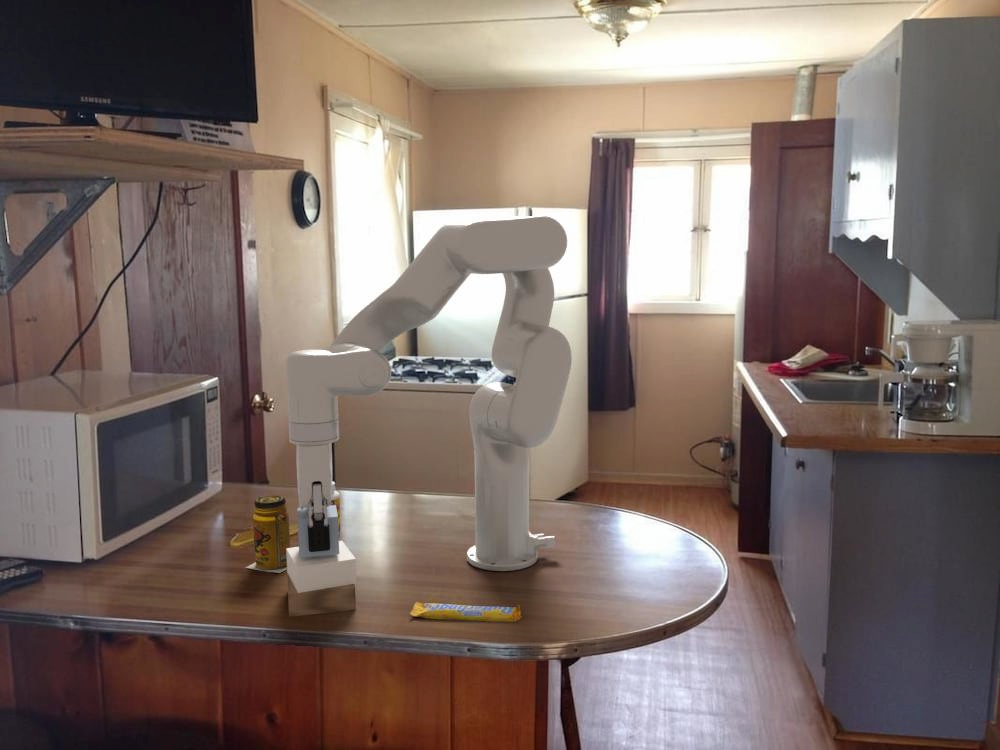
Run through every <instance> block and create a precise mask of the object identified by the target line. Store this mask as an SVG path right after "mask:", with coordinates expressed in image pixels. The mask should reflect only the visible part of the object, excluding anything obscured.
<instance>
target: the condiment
mask: <svg viewBox="0 0 1000 750" xmlns="http://www.w3.org/2000/svg"><path fill="white" fill-rule="evenodd" d="M286 501H287V500H286V498H285V497H284V496H283V495H277V494H275V495H274V494H270V495H263V496H260V497H258V498H255V501H254V514H253V517H252V525H253V541H254V542H253V543H254V544H253V545H254V559H255V561H254V562H253V563H252V564H249V565H248V566H245V567H244V569H250V570H256V571H260V572H266V573H277V574H280V573H282V572H284V571H287V555H286V548H291V538H290V537H291V536H290V518H289V517H290V516H289V513H288V510H287V505H286V503H287V502H286Z"/></svg>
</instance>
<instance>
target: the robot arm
mask: <svg viewBox="0 0 1000 750" xmlns="http://www.w3.org/2000/svg"><path fill="white" fill-rule="evenodd" d="M567 247H568V235H567V233H566V230H565V228H564V226H562V224H561V223H560V222H559V221H557V220H556V219H554V218H553V217H550V216H547V215H531V216H529V215H528V216H511V217H505V218H502V219H501V218H500V219H499V218H498V219H464V220H463V219H461V220H453V221H450V222H447V223H446V224H443V226H441V227H440V228H439V229H438V230H437V231H436V232H435V233H434V235H433V236H432V237H431V238H430V240H429V241H428V242H427V243H426V244H425V246H424V247H423V248H422V249H421V251H420V252H419V253H418V254H417V255H416V257H415V258H414V259H412V262H411V263H410V264H409V265H408V266H407V268H406V269H405V270H404V271H403V272H402V274H401V275H400V276H399V277H398V278H397V279H396V280H395V282H394V283H393V284H392V285H390V287H388V288H387V289H386V290H384V291H383V292H382V293H380V294H379V295H378V296H377V297H376V298H375V299H374V300H372V301H371V302H370V303H369V304H367V305H366V306H365V307H364V308H363V309H361V310H360V311H359V312H358V313H357V314H356V315H355V316H354V317H353V318H351V320H350V321H349V322H348V323H347V324H346V326H344V328H343V329H342V330H341V332H339V334H338V335H337V336H336V338H334V340H333V341H332V343H331V344H330V345H329V347H328V348H327V350H325V349H302V350H296V351H293V352H291V353H289V354H288V355H287V356H286V357H287V358H285V376H286V394H287V395H286V396H287V399H286V400H287V417H288V435H289V436H288V437H289V438H288V440H289V443H290V444H293V445H295V446H296V447H295V448H296V449H295V450H296V453H295V455H296V457H295V458H296V479H297V480H296V481H297V498H298V508H300V509H303V508H305V507H308V510H309V526H308V544H309V551H310V552H318V551H328V550H330V531H329V524H328V520H327V507H329V506H330V505H331V498H332V481H333V451H332V450H333V448H332V447H333V446H332V445H333V443H336V442H338V441H339V440H340V424H339V396H342V397H343V396H346V397H370V396H374V395H377V394H379V393H380V392H382V391H384V389H386V388H387V386H388V385H389V383H390V382H391V378H392V367H391V363H390V362H389V360H388V358H387V357H386V356H385V355H384V354H382V351H383V350H384V348H386V347H387V346H388V345H389V344H390V343H391V342H393V341H394V340H395V339H396V338H397V337H400V336H401V335H403V334H404V333H407V332H408V331H411V330H413V329H416V328H419V327H422V326H423V325H426V324H427V323H429V322H430V321H432V320H433V319H435V318H436V317H437V316H438V315H439V314H440V313H441V311H442V310H443V309H444V307H445V306H446V305H447V303H448V302H449V301H450V300H451V298H452V297H453V296H454V295H455V293H457V291H458V290H459V289H460V287H461V286H462V285H463V283H464V282H465V281H466V280H467V278H468V277H469V276H470V275H471V274H475V275H495V274H502V275H503V277H504V279H503V280H504V284H505V294H504V300H503V305H502V310H501V313H500V317H499V320H498V324H497V328H496V332H495V335H494V339H493V344H492V348H491V361H492V363H493V366H494V367H495V368H496V369H497V370H498V371H499V372H501V373H502V374H504V375H506V376H510V377H513V378H516V380H515V383H514V384H511V383H507V382H499V381H498V382H490V383H487V384H484V385H482V386H481V387H479V388H478V389H477V391H476V392H475V393H474V394H473V396H472V398H471V401H470V404H469V409H468V415H469V416H468V418H469V425H470V429H471V430H470V431H471V437H472V442H473V454H474V455H473V457H474V526H475V527H474V528H475V529H474V535H475V536H474V537H475V538H474V539H475V540H474V541H475V542H474V545H473V546H471V547H469V549H468V550H467V552H466V560H467V562H468V563H469V564H470V565H472V566H473V567H475V568H478V569H481V570H485V571H486V570H487V571H493V572H507V571H508V572H512V571H518V570H523V569H526V568H528V567H531V566H533V565H534V564H535V563H537V561H538V559H539V558H538V555H539V554H538V550H539V548H554V547H556V537H555V535H549V536H545V534H544V533H536V534H532V533H531V531H530V459H529V458H530V457H529V452H528V449H535V448H537V447H540V446H541V445H543V444H544V443H546V442H547V440H549V438H551V436H552V434H553V432H554V430H555V428H556V425H557V422H558V419H559V416H560V412H561V408H562V404H563V401H564V397H565V393H566V389H567V385H568V381H569V377H570V373H571V369H572V362H573V361H572V360H573V359H572V356H573V355H572V350H571V346H570V342H569V341H568V338H567V337H566V336H565V335H564V333H562V332H561V331H560V330H558V329H557V328H554V327H551V326H550V323H551V318H552V317H551V316H552V312H553V307H554V303H555V284H554V281H553V277H552V274H551V272H550V271H551V270H549V268H552V267H553V266H555V265H556V264H558V263H559V262H560V261H561V259H562V258H563V257H564V256H565V253H566V250H567ZM313 510H314V513H313V514H312V511H313ZM322 510H323V511H324V512H322Z"/></svg>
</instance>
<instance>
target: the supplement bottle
mask: <svg viewBox="0 0 1000 750" xmlns="http://www.w3.org/2000/svg"><path fill="white" fill-rule="evenodd" d="M340 498H341V497H340V492H338V491H337V490H336V483H335V481H333V480H332V498H331V505H336V508H337V515H338V534H340V533H341V506H340V505H341V502H340V501H341V499H340Z"/></svg>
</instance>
